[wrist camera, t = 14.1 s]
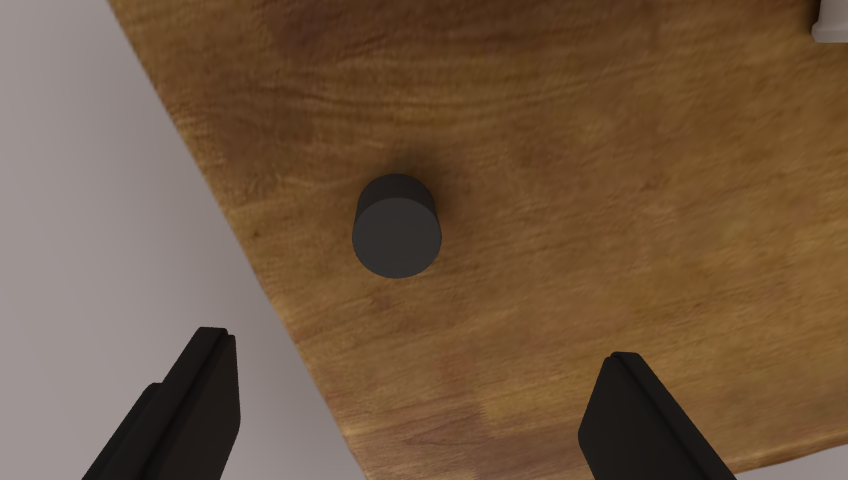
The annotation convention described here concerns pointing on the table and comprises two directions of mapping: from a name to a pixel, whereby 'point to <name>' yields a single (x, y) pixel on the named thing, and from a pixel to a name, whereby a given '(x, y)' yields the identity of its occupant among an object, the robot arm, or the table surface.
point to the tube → (831, 22)
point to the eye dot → (396, 227)
